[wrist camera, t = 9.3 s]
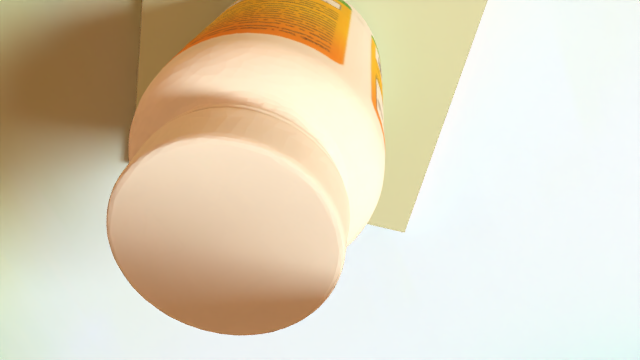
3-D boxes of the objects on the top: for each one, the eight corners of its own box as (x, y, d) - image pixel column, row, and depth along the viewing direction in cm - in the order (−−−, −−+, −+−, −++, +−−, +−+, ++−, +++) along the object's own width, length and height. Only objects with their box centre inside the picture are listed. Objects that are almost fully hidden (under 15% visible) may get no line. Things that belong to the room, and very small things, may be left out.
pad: (403, 223, 21) (404, 232, 20) (137, 161, 20) (132, 168, 20) (504, -63, 16) (509, -61, 15) (159, -149, 16) (151, -151, 15)
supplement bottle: (175, 52, 18) (-8, 215, 9) (307, -63, 16) (230, 10, 7) (285, 174, 19) (217, 406, 11) (415, 84, 18) (455, 281, 9)
